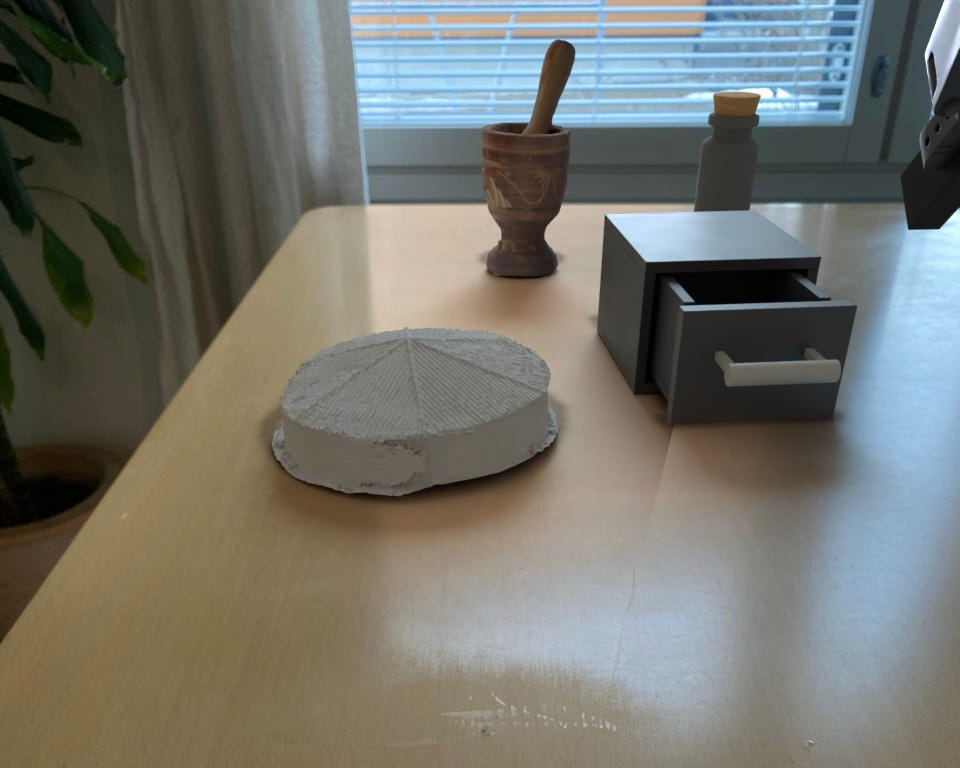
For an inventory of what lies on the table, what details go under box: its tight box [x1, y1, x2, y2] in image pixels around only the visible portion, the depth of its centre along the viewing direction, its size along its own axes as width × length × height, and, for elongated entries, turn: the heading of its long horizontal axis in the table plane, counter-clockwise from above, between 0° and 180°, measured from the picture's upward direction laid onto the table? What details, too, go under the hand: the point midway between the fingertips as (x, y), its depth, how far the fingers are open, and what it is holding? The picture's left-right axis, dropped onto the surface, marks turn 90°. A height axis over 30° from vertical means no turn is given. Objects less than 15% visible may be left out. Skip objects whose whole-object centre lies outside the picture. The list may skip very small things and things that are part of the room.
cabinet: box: [596, 209, 822, 395], centre depth 77 cm, size 15×13×10 cm
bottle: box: [693, 91, 762, 212], centre depth 103 cm, size 6×6×15 cm
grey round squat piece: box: [271, 326, 559, 497], centre depth 66 cm, size 20×20×7 cm
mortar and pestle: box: [480, 39, 577, 277], centre depth 97 cm, size 12×9×20 cm
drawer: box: [647, 269, 858, 428], centre depth 68 cm, size 18×11×8 cm, turn 5°
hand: (919, 202), depth 44 cm, fingers closed
